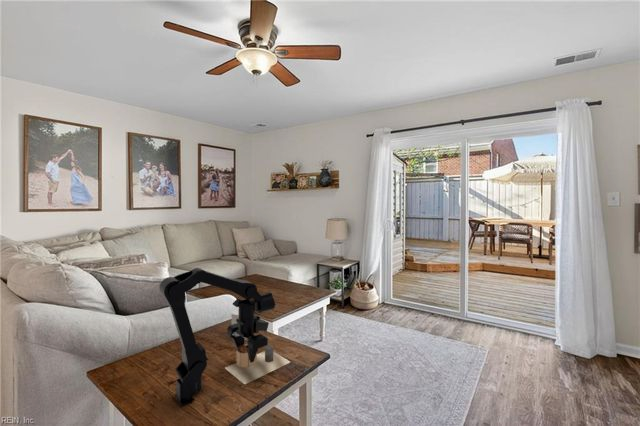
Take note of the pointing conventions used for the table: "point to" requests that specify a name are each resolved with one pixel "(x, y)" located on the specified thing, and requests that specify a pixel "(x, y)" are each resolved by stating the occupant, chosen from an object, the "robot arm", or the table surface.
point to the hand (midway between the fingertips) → (246, 358)
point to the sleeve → (244, 357)
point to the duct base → (258, 366)
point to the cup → (235, 316)
